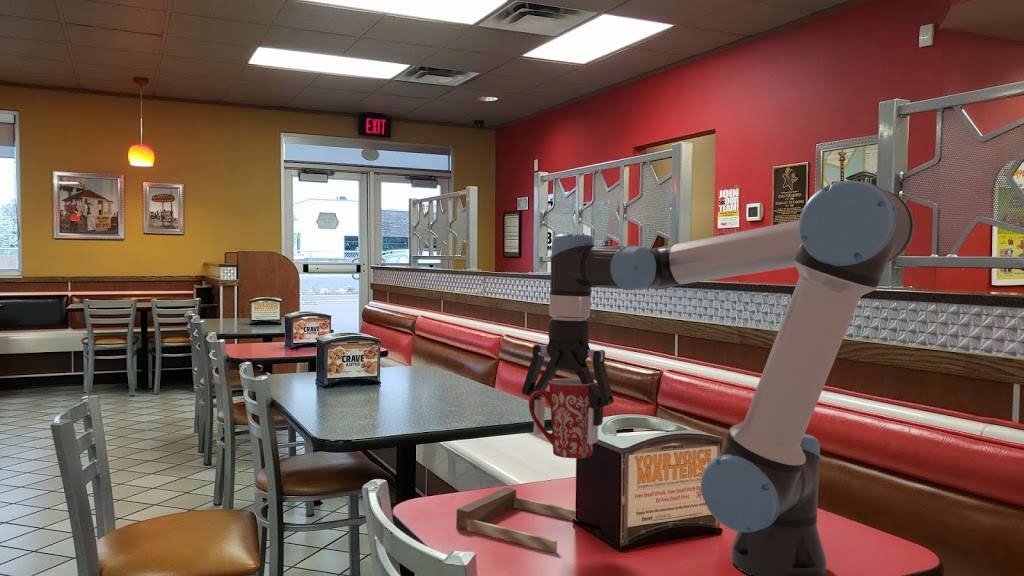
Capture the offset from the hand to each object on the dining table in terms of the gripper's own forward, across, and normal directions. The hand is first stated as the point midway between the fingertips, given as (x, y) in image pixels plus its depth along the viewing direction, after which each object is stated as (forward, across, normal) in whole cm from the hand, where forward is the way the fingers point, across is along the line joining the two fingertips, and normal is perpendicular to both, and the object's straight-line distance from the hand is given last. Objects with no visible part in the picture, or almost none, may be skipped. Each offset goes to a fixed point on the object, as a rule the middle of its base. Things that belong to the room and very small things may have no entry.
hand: (565, 438), depth 137 cm
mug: (+3, 0, 0) cm, 3 cm away
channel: (+18, +7, 0) cm, 19 cm away
